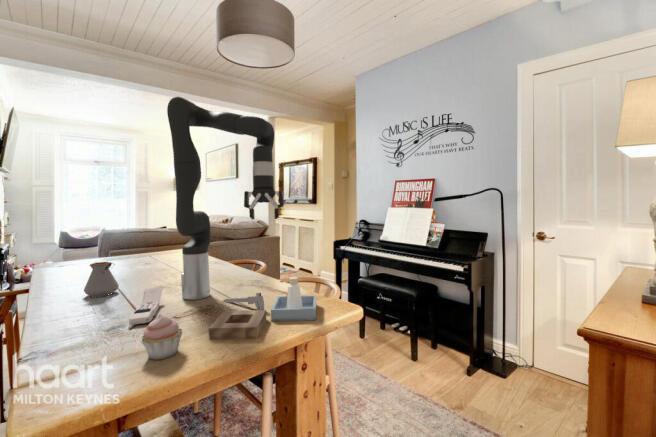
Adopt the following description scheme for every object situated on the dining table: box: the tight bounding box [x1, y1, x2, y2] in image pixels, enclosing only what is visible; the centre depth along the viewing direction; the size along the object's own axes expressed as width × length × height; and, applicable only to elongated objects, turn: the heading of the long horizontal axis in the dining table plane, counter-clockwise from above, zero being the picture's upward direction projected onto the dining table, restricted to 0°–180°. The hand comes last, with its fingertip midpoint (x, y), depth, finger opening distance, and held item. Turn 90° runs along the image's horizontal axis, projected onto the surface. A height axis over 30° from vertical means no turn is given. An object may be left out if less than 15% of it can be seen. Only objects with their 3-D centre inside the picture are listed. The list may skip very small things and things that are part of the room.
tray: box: [270, 294, 317, 322], centre depth 103 cm, size 14×14×4 cm
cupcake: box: [140, 313, 184, 361], centre depth 76 cm, size 9×9×10 cm
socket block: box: [208, 309, 267, 340], centre depth 91 cm, size 13×13×3 cm
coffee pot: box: [83, 261, 120, 298], centre depth 123 cm, size 21×12×15 cm, turn 48°
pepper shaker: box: [286, 276, 303, 309], centre depth 103 cm, size 5×5×11 cm
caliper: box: [223, 292, 265, 310], centre depth 111 cm, size 20×1×6 cm, turn 56°
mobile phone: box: [128, 286, 163, 329], centre depth 104 cm, size 6×6×25 cm
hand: (264, 219), depth 116 cm, fingers open, 8 cm apart
